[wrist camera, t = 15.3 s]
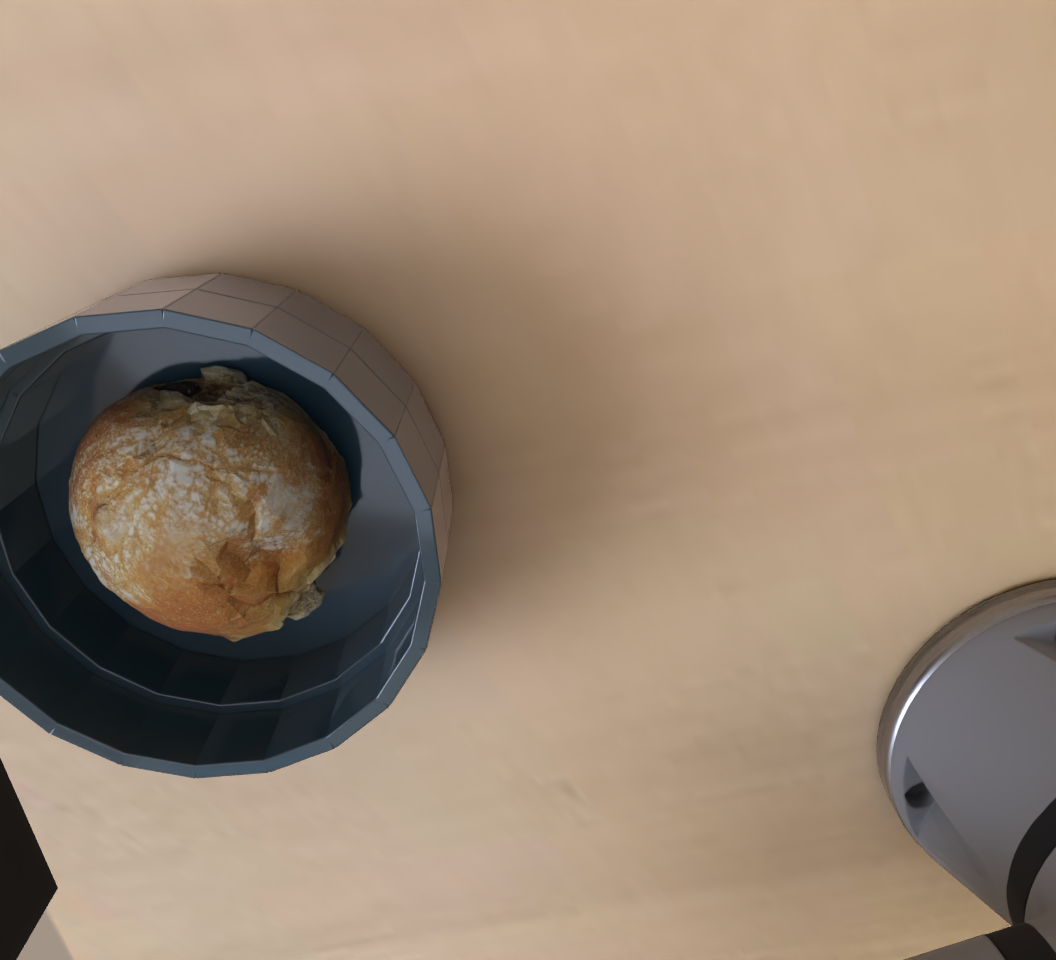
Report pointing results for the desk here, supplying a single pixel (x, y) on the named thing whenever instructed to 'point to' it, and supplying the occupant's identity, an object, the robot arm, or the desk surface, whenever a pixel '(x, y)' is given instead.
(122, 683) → the dark blue bowl
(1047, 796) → the robot arm
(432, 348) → the desk surface
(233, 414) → the bread roll
